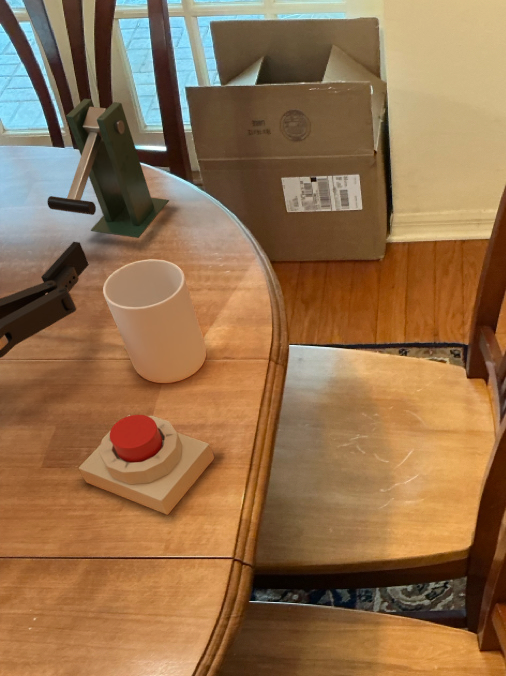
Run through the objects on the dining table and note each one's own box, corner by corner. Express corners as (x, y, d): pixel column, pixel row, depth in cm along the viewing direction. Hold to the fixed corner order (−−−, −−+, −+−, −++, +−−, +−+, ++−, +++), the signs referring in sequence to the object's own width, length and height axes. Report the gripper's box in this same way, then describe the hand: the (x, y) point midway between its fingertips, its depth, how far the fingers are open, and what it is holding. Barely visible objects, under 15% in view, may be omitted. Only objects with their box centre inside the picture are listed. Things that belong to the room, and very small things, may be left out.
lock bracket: (141, 246, 100) (101, 130, 88) (93, 239, 101) (47, 124, 89) (171, 208, 105) (137, 94, 93) (125, 202, 106) (86, 88, 94)
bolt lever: (95, 219, 91) (84, 207, 89) (55, 214, 92) (43, 201, 90) (127, 124, 93) (117, 109, 91) (87, 119, 94) (76, 104, 92)
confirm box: (85, 482, 76) (70, 455, 73) (135, 429, 81) (122, 401, 77) (168, 515, 74) (155, 488, 70) (214, 458, 78) (205, 430, 75)
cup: (132, 389, 84) (99, 313, 76) (137, 320, 91) (107, 244, 83) (208, 379, 85) (184, 303, 76) (207, 312, 92) (185, 234, 83)
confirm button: (107, 454, 74) (99, 439, 72) (135, 424, 76) (128, 409, 74) (144, 468, 72) (137, 453, 71) (171, 437, 75) (165, 422, 73)
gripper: (-177, 379, 79) (-52, 259, 90) (35, 421, 74) (138, 289, 86) (-228, 319, 72) (-87, 199, 84) (0, 361, 68) (116, 228, 80)
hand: (27, 244), depth 85 cm, fingers open, 13 cm apart
